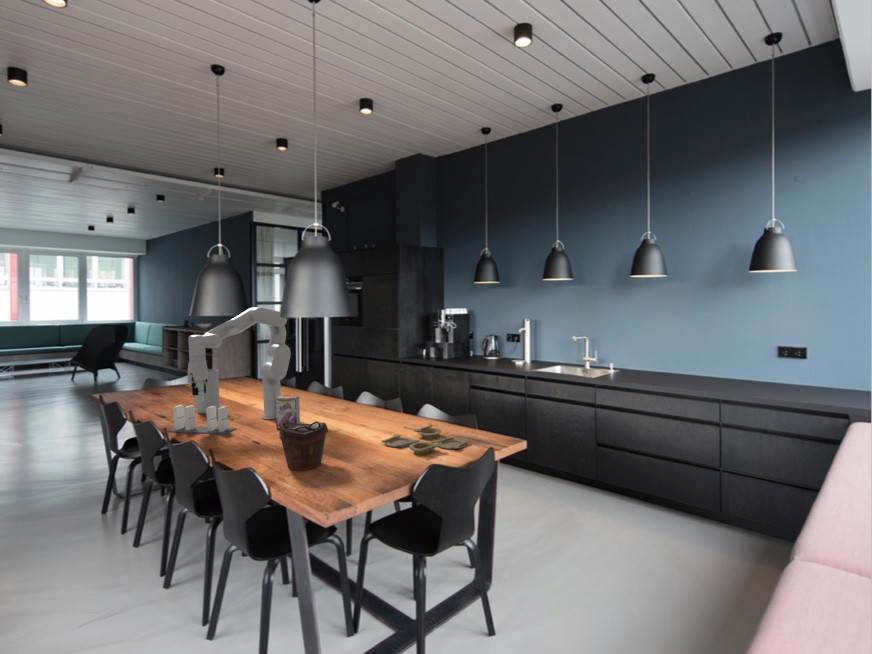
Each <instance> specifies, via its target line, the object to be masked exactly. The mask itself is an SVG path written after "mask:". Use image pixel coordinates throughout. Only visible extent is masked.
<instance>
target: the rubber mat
mask: <svg viewBox="0 0 872 654" xmlns="http://www.w3.org/2000/svg"><path fill="white" fill-rule="evenodd" d="M235 430H237V427H236V428H235V427H228V430H225V431H223V432H219V431H218V426H217V429H215V430H213V431H207V426H195V428H194V429H191V430H185V428H182V429H179V430H174V428H172V429H169V430H167V433H184V434H205V435H206V434H207V435H209V434H210V435H227V434H228V433H231V432H233V431H235Z"/></svg>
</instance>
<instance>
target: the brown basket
mask: <svg viewBox="0 0 872 654" xmlns="http://www.w3.org/2000/svg"><path fill="white" fill-rule="evenodd" d="M328 432H330V431H329V428H328V425H327V423H326V422H320V421H313V422H312V423H300V424H298V423H281V425H280V429H279V434H278V435H279V439H280V441H281V445H282V449H283V455H284V458H285V461H286V465H287V466H286V467H287V468H288V469H290V470H292V471H297V472H298V471H299V472H300V471H301V472H302V471H309V470H313V469H316V468H318V467H320V466H321V465H322V458H323V455H324V447H325V443H326V442H325V440H326V436H327V433H328Z"/></svg>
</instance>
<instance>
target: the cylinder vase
mask: <svg viewBox="0 0 872 654" xmlns="http://www.w3.org/2000/svg"><path fill="white" fill-rule="evenodd" d="M207 369H208V376H209V379H208V381H207V383H206V384H207V385H206V393H204V398H205V401H204V402H201V403H196V409H197V410H196V411H197V413H199V414H206V408H208V407H211V406H216V413H218V411H217V408H220V407H221V403H220V402H221V401H220V400H221V399H220V381H219V380H220V379H219V369H218V368H217V369H216V368H207Z"/></svg>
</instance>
